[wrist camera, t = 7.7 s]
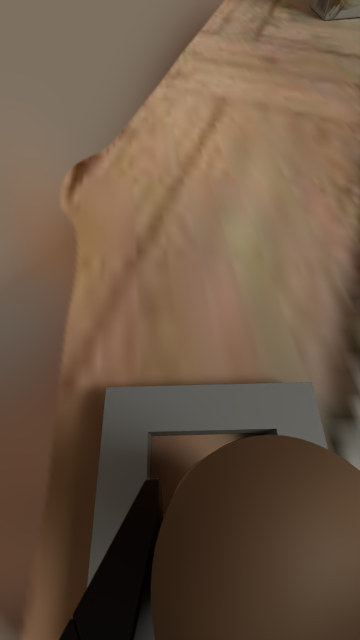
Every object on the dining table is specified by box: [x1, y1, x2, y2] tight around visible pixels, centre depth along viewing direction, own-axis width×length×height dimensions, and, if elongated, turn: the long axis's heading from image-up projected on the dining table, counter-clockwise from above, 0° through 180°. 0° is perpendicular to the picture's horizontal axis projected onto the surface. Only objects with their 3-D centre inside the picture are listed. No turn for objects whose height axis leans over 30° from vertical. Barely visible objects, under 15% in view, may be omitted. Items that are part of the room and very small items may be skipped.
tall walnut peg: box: [151, 435, 360, 640], centre depth 9 cm, size 4×4×10 cm
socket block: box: [87, 382, 328, 587], centre depth 15 cm, size 12×12×2 cm
